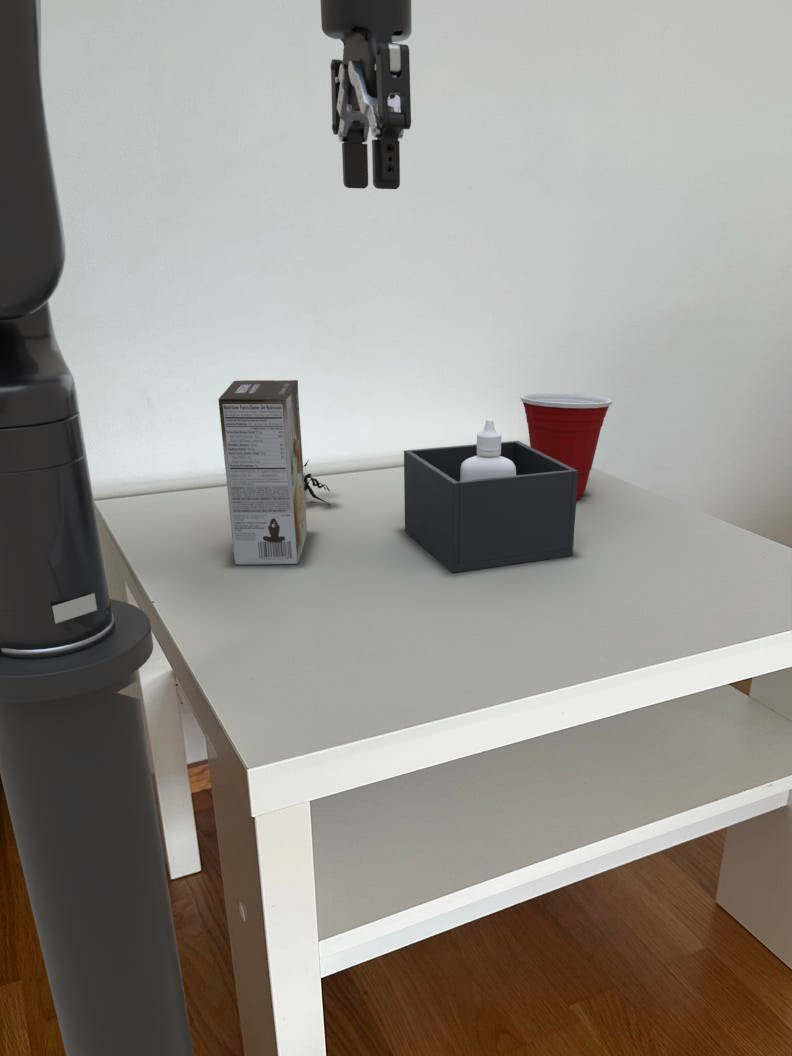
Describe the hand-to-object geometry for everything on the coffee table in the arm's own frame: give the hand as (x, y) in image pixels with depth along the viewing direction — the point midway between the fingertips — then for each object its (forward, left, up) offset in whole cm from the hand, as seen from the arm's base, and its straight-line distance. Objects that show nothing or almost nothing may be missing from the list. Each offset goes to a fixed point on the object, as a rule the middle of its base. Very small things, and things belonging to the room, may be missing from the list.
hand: (370, 188), depth 84 cm
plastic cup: (+26, +8, -33) cm, 43 cm away
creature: (-4, +16, -33) cm, 37 cm away
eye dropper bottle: (+10, -5, -32) cm, 34 cm away
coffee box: (-11, +1, -33) cm, 35 cm away
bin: (+10, -5, -33) cm, 35 cm away
